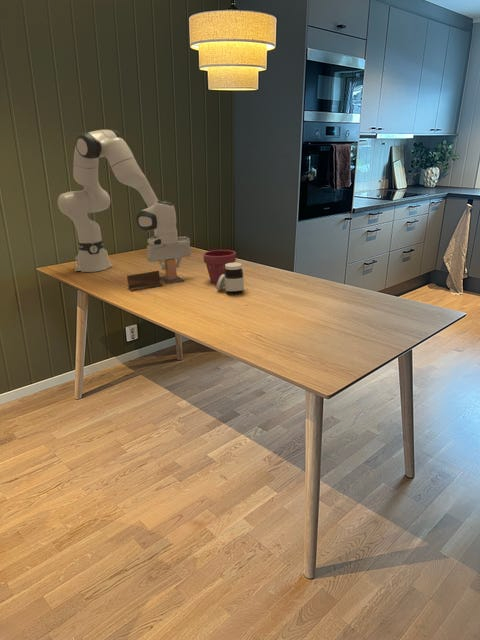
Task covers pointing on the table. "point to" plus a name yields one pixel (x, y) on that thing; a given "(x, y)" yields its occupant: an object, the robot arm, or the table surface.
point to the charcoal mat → (171, 280)
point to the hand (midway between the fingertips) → (170, 268)
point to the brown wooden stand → (144, 281)
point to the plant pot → (218, 262)
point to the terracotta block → (170, 269)
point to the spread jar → (232, 279)
